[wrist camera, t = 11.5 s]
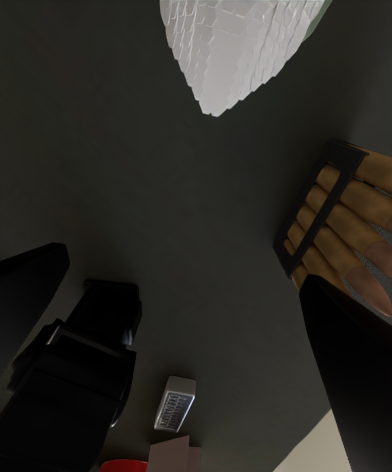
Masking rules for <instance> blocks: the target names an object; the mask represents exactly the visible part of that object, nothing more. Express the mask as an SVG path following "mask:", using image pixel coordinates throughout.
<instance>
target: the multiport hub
mask: <svg viewBox="0 0 392 472" xmlns="http://www.w3.org/2000/svg"><path fill="white" fill-rule="evenodd" d="M195 386H196V381H195V380H192V379H187V378H182V377H176V376H169V379H168V382H167V385H166V387H165V390H164V393H163V396H162V399H161V402H160V405H159V408H158V411H157V415H156V420H155V426H154V428H155V429H159V430H165V431H170V432H178V430H179V428H180V426H181V424H182V422H183V420H184V418H185V416H186V414H187V412H188V410H189V408H190V406H191V404H192V402H193V400H194V398H195Z"/></svg>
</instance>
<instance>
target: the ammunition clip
mask: <svg viewBox="0 0 392 472" xmlns="http://www.w3.org/2000/svg"><path fill="white" fill-rule="evenodd" d="M353 176H355V177H357V178H359V179H361V180H363V182H362V181H360V180H358V179H356V178H354V177H353ZM375 187H377V188H379V189H381V190H383V191H385V192H387V193H389V194H392V157H389V156H385V155H382V154H379V153H376V152H372V151H369V150H366V149H364V148H361V147H359V146H356V145H354V144H351V143H348V142H345V141H341V140H338V139H335V138H329V139H328V140H327V142H326V144H325V146H324V148H323V150H322V152H321V153H320V155H319V157H318V159H317V161H316V163H315V165H314V167H313V169H312V171H311V173H310V175H309V177H308V179H307V181H306V183H305V185H304V187H303V188H302V190H301V192H300V194H299V196H298V198H297V200H296V202H295V204H294V206H293V208H292V210H291V212H290V214H289V216H288V218H287V220H286V221H285V223H284V225H283V227H282V229H281V231H280V233H279V235H278V237H277V239H276V241H275V243H274V245H273V249H274V251H275V253H276V255H277V257H278V259H279V261H280V263H281V265H282V267H283V269H284V271H285V273H286V275H287V277H288V279H293V281H294V283H295V285H296V287H297V289H298V292H299V291H300V288H301V286H302V284H303V282H304V279H305V277H306V276H307V275H308V274H315V275H320V276H322V277H323V278H325V279H326V280H327V281H329V282H330V283H332V284H333V285H335V286H336V287H337V288H339V289H340V290H342V291H343V292H344V293H346V294H347V295H349V296H350V297H352V295H351V294H350V291H349V290H348V288H347V287H346V285H345V284H344V281H343V279H342V276H343V277H344V278H345V279H346V280H347V281H348V282H349V283H350V285H351V286H352V287H353V288H354V289H355V291H356V292H357V293H358V294H359V295H360V296H361V297H362V298H363V299H364V300H365V301H366V302H368V303H369V304H370V305H371V306H373V307H374V308H375V309H377V310H378V311H380V312H381V313H383V314H385V315H387V316H389V317H392V304H391V302H390V300H389V298H388V296H387V294H386V292H385V291H384V289H383V288H382V286H381V285H380V283H379V282H378V281H377V280H376V278H375V277H374V276H373V275H372V274H371V273H370V272H369V270H368V269H367V267H366V266H365V265H364V264H363V263H362V261H361V259H360V257H359V256H358V254H357V253H356V251H355V250H357V251H359V252H360V253H361V254H362V255H363V256H364V257H365V258H367V259H368V260H369V261H370V262H371V263H373V264H374V265H375V266H376V267H377V268H378V269H379V270H381V271H382V272H383V273H385V274H386V275H387V276H389V277H390V278H392V246H390V245H389V243H388V242H387V241H386V240H385V239H383V238H382V237H381V236H380V235H379V234H378V232H377V231H376V230H375V228H374V227H373V226H372V225H371V224H369V223H368V222H370V223H373V224H375V225H378V226H380V227H381V228H383V229H385V230H386V231H388V232H390V233H392V197H390V196H388V195H386V194H384V193H382V192H380V191H379V190H377V189H375ZM359 215H360V216H361V217H360V216H359ZM363 218H364V219H365V220H364V219H363ZM366 220H367V221H368V222H367V221H366ZM353 248H354V249H355V250H354V249H353ZM340 273H341V274H340ZM341 275H342V276H341ZM291 277H292V278H291ZM352 298H353V297H352ZM353 299H354V298H353Z"/></svg>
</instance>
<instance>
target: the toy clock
mask: <svg viewBox="0 0 392 472" xmlns="http://www.w3.org/2000/svg"><path fill="white" fill-rule="evenodd" d="M147 465H148V462H144V461H138V460H128V459H120V460H111V461H107V462H105V463H103V464H102V465H101V468H100V471H99V472H146V470H147Z"/></svg>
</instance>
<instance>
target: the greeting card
mask: <svg viewBox="0 0 392 472" xmlns="http://www.w3.org/2000/svg"><path fill="white" fill-rule="evenodd" d="M200 460H201V448H196V447H189V435H188V436H184V437H180V438H176V439H172V440H169V441H165V442H161V443H157V444H153V445H151V448H150V454H149V459H148V465H147V470H146V472H200Z"/></svg>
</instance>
